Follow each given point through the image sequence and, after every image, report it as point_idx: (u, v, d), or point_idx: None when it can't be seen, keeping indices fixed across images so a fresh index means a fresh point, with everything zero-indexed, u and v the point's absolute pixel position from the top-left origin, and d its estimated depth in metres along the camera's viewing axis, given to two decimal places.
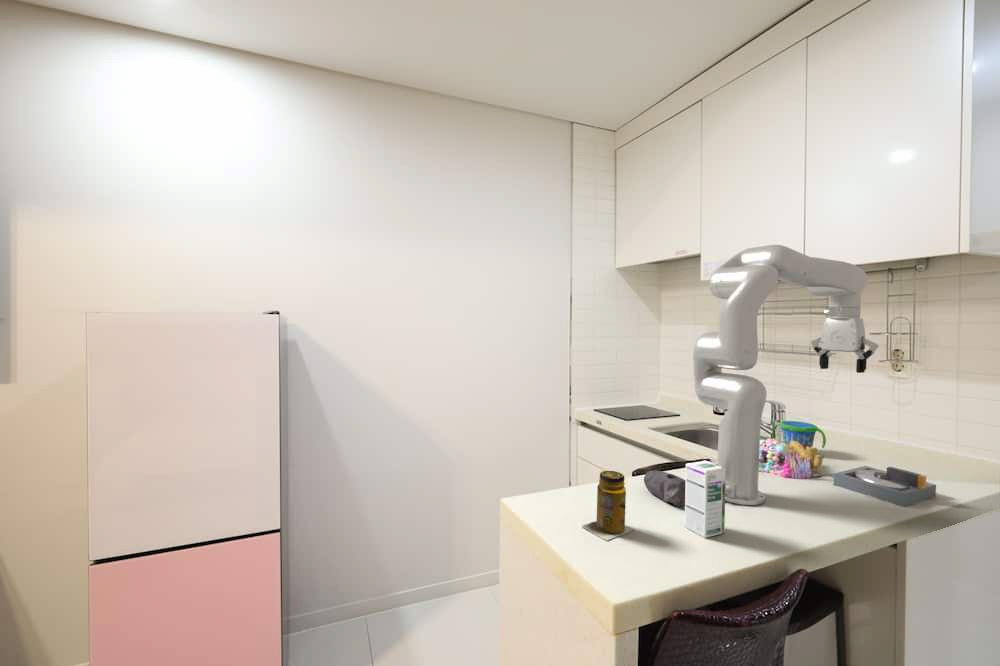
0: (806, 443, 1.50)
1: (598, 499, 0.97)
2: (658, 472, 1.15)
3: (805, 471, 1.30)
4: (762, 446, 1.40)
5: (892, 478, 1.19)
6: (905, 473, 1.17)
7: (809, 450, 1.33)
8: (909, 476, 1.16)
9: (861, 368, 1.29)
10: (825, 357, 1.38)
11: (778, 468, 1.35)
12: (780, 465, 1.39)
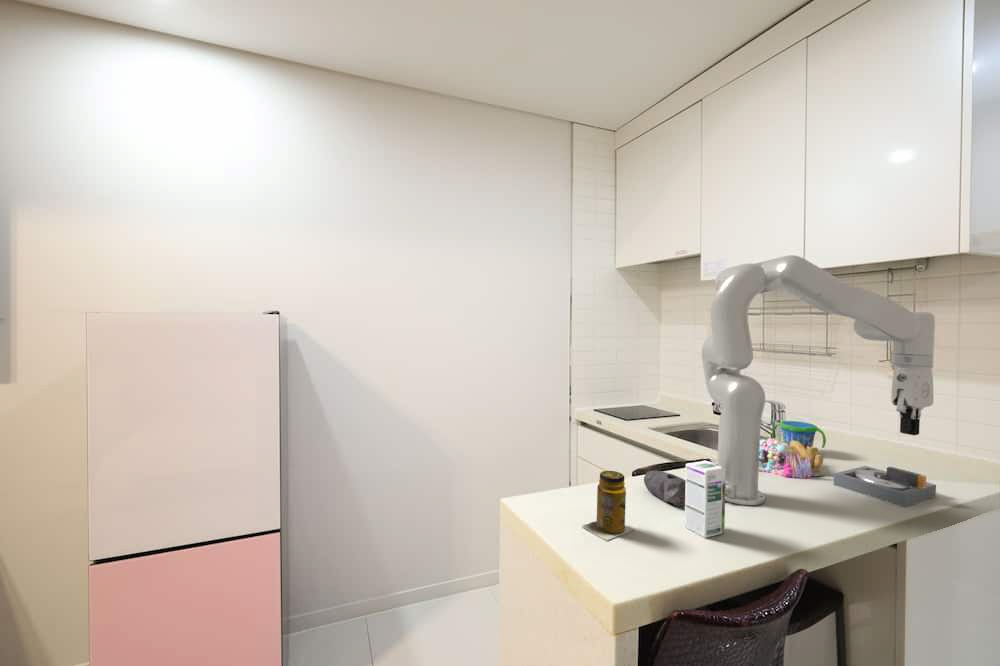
0: (806, 443, 1.50)
1: (598, 499, 0.97)
2: (658, 472, 1.15)
3: (806, 471, 1.30)
4: (763, 446, 1.40)
5: (892, 478, 1.19)
6: (905, 473, 1.17)
7: (810, 450, 1.34)
8: (909, 476, 1.16)
9: None
10: None
11: (779, 468, 1.35)
12: (781, 465, 1.39)
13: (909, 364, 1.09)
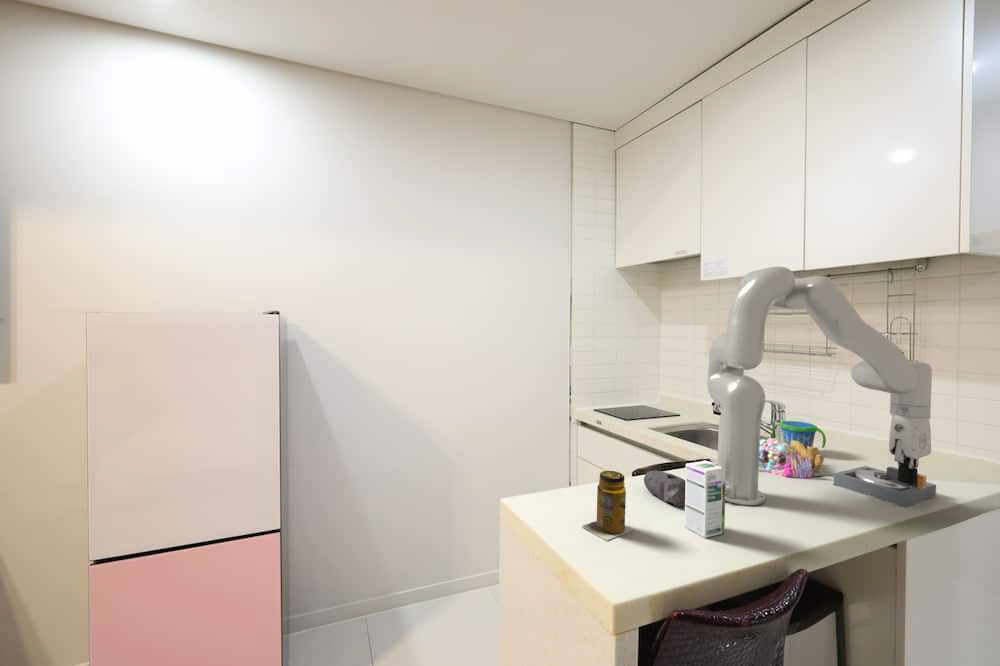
0: (806, 443, 1.50)
1: (598, 499, 0.97)
2: (658, 472, 1.15)
3: (806, 471, 1.30)
4: (763, 446, 1.40)
5: (892, 478, 1.19)
6: None
7: (810, 450, 1.34)
8: None
9: None
10: None
11: (779, 468, 1.35)
12: (781, 465, 1.39)
13: (906, 415, 1.10)
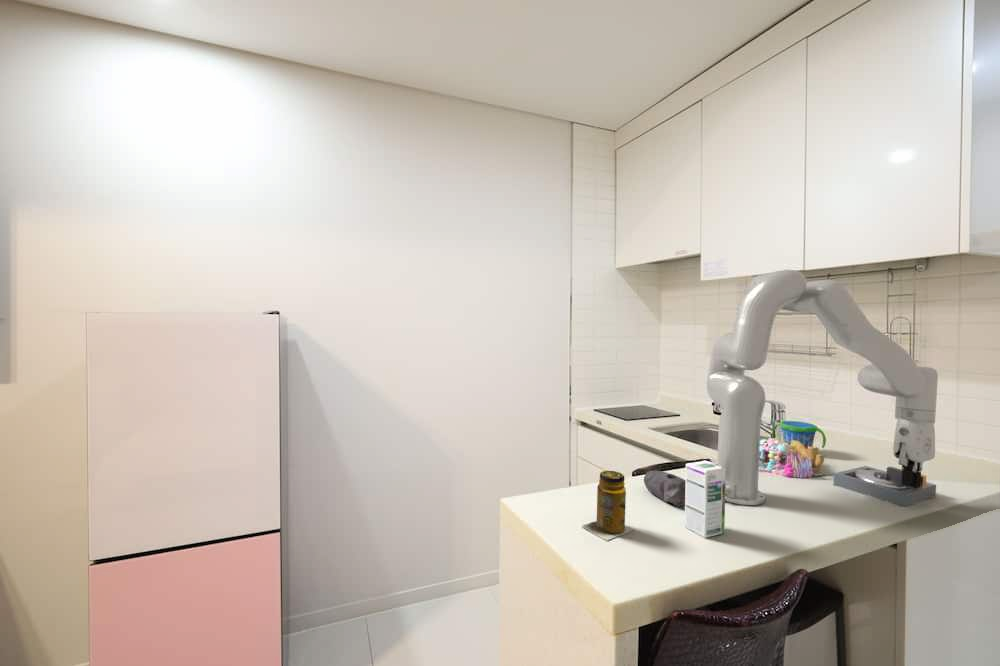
0: (806, 443, 1.50)
1: (598, 499, 0.97)
2: (658, 472, 1.15)
3: (807, 470, 1.31)
4: (764, 446, 1.40)
5: (892, 478, 1.19)
6: None
7: (810, 449, 1.34)
8: None
9: None
10: None
11: (780, 468, 1.36)
12: (781, 465, 1.39)
13: (911, 419, 1.11)
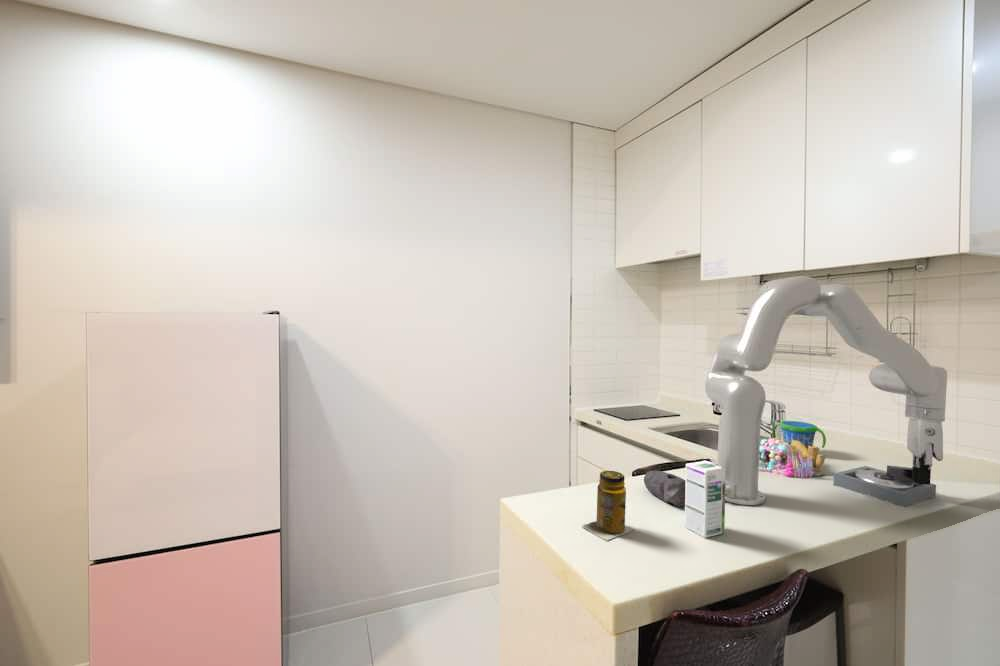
0: (806, 443, 1.50)
1: (598, 499, 0.97)
2: (658, 472, 1.15)
3: (808, 470, 1.31)
4: (764, 445, 1.40)
5: (895, 477, 1.20)
6: (908, 470, 1.19)
7: (811, 449, 1.34)
8: None
9: None
10: None
11: (781, 467, 1.36)
12: (782, 464, 1.39)
13: (934, 418, 1.12)
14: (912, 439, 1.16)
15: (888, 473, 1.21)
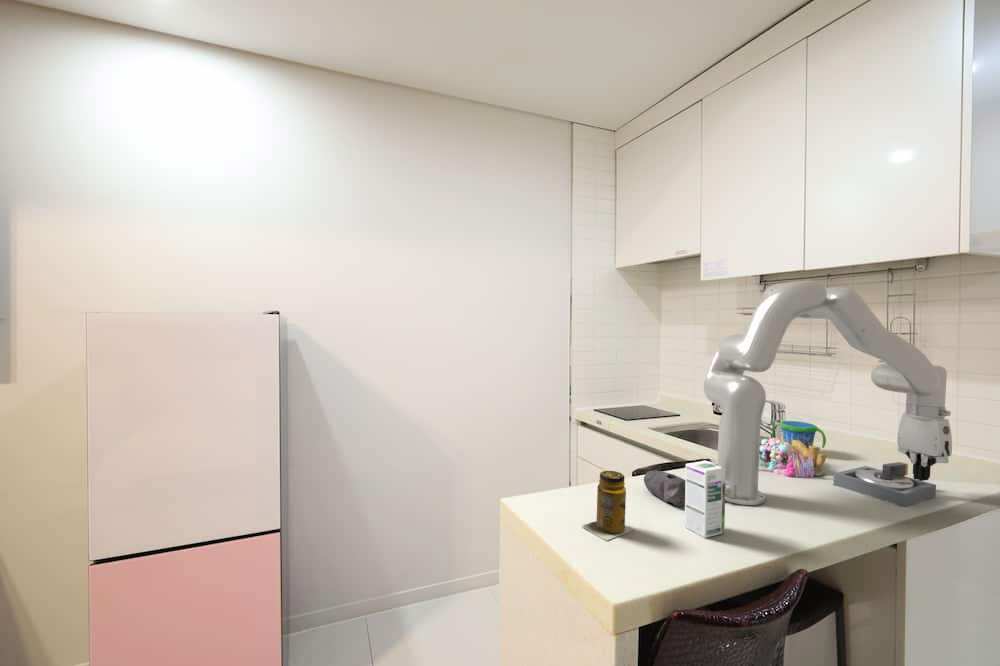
0: (806, 443, 1.50)
1: (598, 499, 0.97)
2: (658, 472, 1.15)
3: (809, 470, 1.31)
4: (765, 445, 1.40)
5: (893, 475, 1.22)
6: (899, 466, 1.22)
7: (812, 449, 1.34)
8: (902, 467, 1.23)
9: None
10: None
11: (781, 467, 1.36)
12: (783, 464, 1.40)
13: (944, 416, 1.15)
14: (922, 439, 1.17)
15: (886, 472, 1.22)
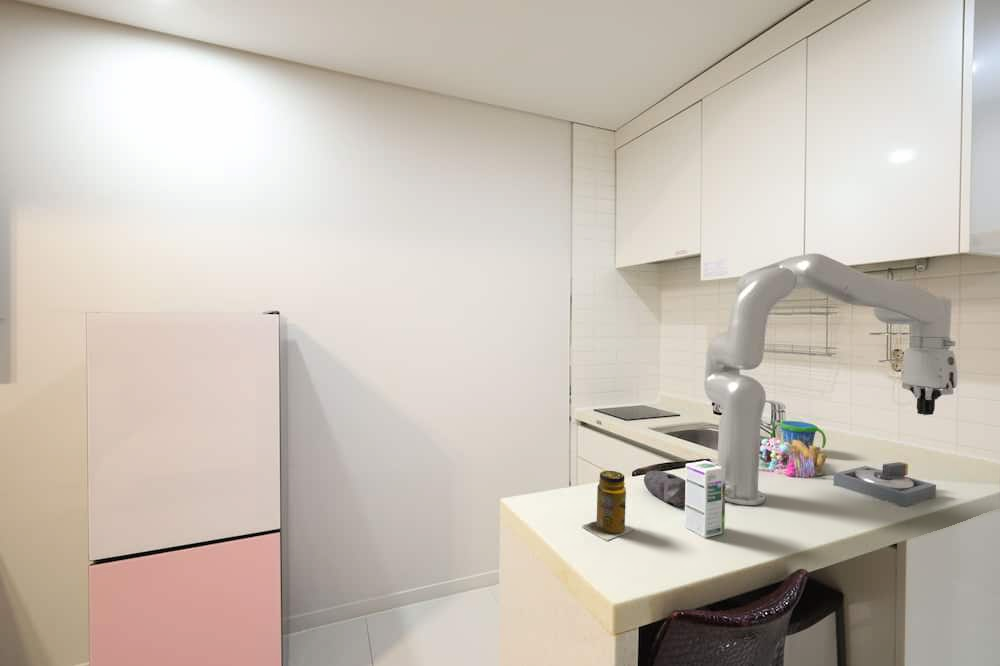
0: (806, 443, 1.50)
1: (598, 499, 0.97)
2: (658, 472, 1.15)
3: (809, 470, 1.31)
4: (766, 445, 1.40)
5: (893, 475, 1.22)
6: (899, 466, 1.22)
7: (812, 449, 1.34)
8: (902, 467, 1.23)
9: None
10: None
11: (782, 467, 1.36)
12: (783, 464, 1.40)
13: (948, 347, 1.13)
14: (926, 371, 1.15)
15: (886, 472, 1.22)
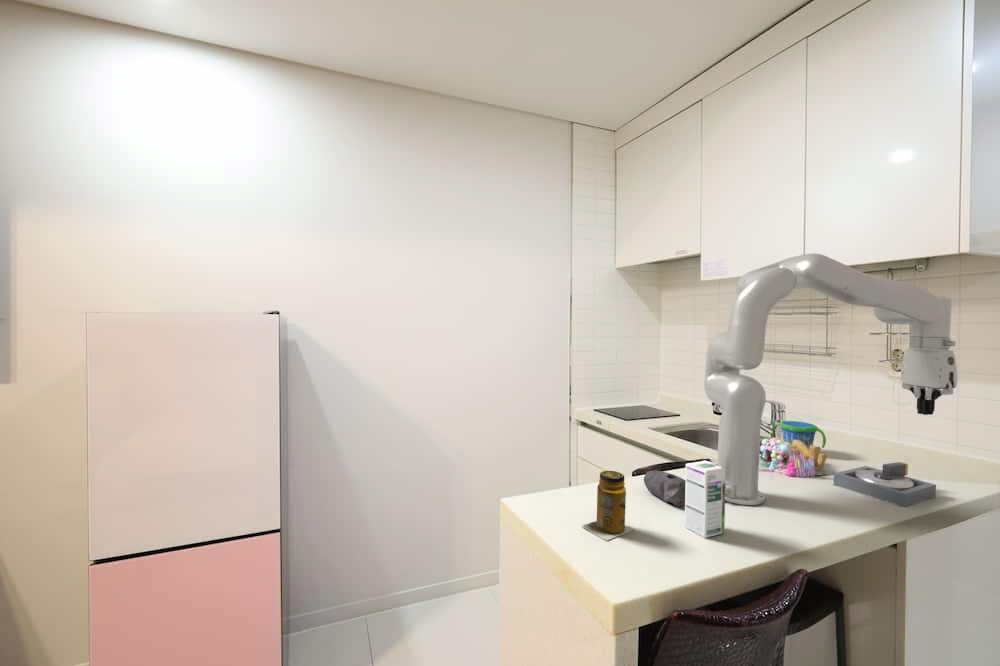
0: (806, 443, 1.50)
1: (598, 499, 0.97)
2: (658, 472, 1.15)
3: (809, 470, 1.31)
4: (766, 445, 1.40)
5: (893, 475, 1.22)
6: (899, 466, 1.22)
7: (813, 449, 1.35)
8: (902, 467, 1.23)
9: None
10: None
11: (782, 467, 1.36)
12: (784, 464, 1.40)
13: (948, 347, 1.13)
14: (926, 371, 1.15)
15: (886, 472, 1.22)
